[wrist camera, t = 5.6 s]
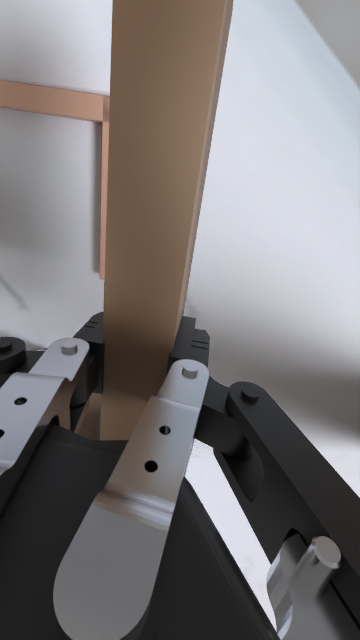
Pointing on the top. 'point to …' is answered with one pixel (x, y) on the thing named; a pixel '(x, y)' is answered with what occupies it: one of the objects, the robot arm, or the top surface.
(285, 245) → the top surface
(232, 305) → the top surface
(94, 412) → the wooden l-shaped bracket
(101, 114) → the corral frame
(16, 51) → the top surface
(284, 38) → the top surface
